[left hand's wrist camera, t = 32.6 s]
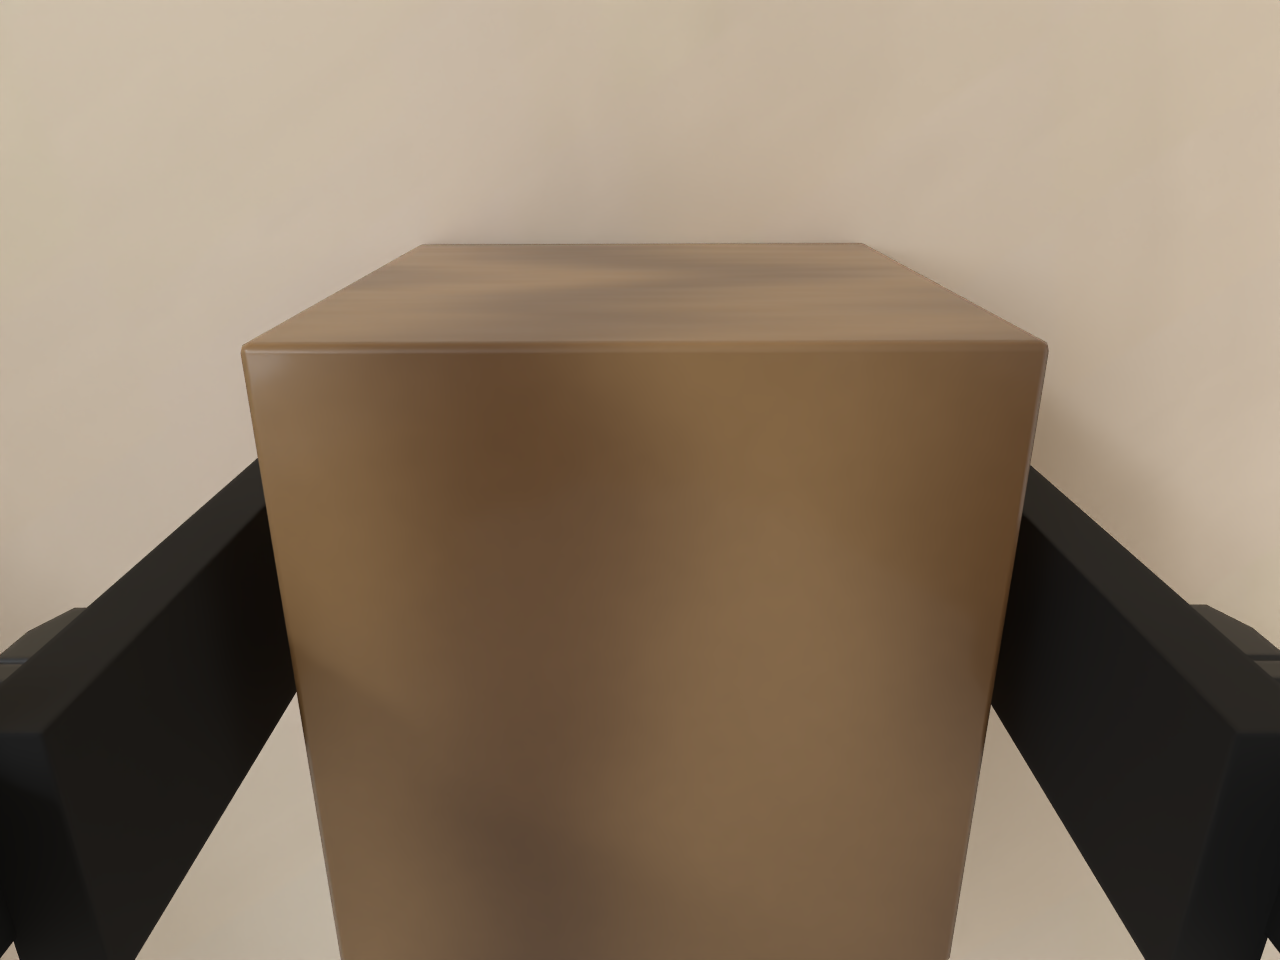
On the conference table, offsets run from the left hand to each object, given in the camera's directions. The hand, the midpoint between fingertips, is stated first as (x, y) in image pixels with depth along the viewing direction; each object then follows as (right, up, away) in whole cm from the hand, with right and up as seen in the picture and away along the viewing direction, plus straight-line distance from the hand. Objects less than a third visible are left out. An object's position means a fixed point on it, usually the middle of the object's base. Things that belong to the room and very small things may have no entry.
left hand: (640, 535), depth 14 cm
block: (0, +1, +3) cm, 4 cm away
